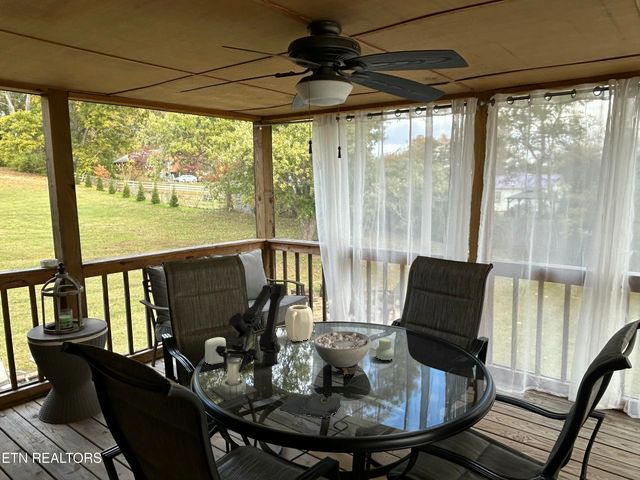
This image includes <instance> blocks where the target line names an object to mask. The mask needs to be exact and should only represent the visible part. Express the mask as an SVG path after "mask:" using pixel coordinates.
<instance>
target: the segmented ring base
mask: <svg viewBox="0 0 640 480" xmlns="http://www.w3.org/2000/svg"><path fill="white" fill-rule="evenodd" d="M246 382H247V380H246V379H245V378H243V377H240V384H239V385H235V386H230V385H228V378H225V379H223V380H222V381H221V384H220V385H216V386H212V387H210V390H211V391H212V392H213V391H214V392H213V393H214V394H216V395H218V396H219V397H220V396H221V397H220V398H222V399H223V400H224V399H225V402H228V400H229V401H232V400H234V399H238V398H241V397H245V396H247V395H250V394H254V393H257V392H258V390H257V389H256V388H254V387H253V386H251V385H249V384H248V383H246Z"/></svg>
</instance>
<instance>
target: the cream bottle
mask: <svg viewBox="0 0 640 480" xmlns="http://www.w3.org/2000/svg"><path fill="white" fill-rule="evenodd" d="M227 363H228V368H227V379H228V385H230V386H235V385H239V384H240V378H241V373H239V369H240V366H241V363H242V358H241V357H237V356H232V357H231V356H230V358H228V359H227Z"/></svg>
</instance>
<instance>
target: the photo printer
mask: <svg viewBox="0 0 640 480" xmlns="http://www.w3.org/2000/svg"><path fill="white" fill-rule="evenodd" d="M219 345H221V346H226V347H227V342H226V338H224V337H220V336H218V337H213V338H210V339H207V340H205V342H204V363H205V362H206V363H208V364H211V365H215V364H221V363H224V359H223V357H221V356H219V355H218V353H217V352H216V351H215V350H216V347H217V346H219Z"/></svg>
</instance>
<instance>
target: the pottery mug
mask: <svg viewBox="0 0 640 480" xmlns="http://www.w3.org/2000/svg"><path fill="white" fill-rule="evenodd" d="M358 369H359V366H358V363H357V364H355V366H354V367H352V368H346V367H345V368H342V370H343V374H344V373H345V374H350V375H353V374H355V373H356V372H357V371H358Z"/></svg>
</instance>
